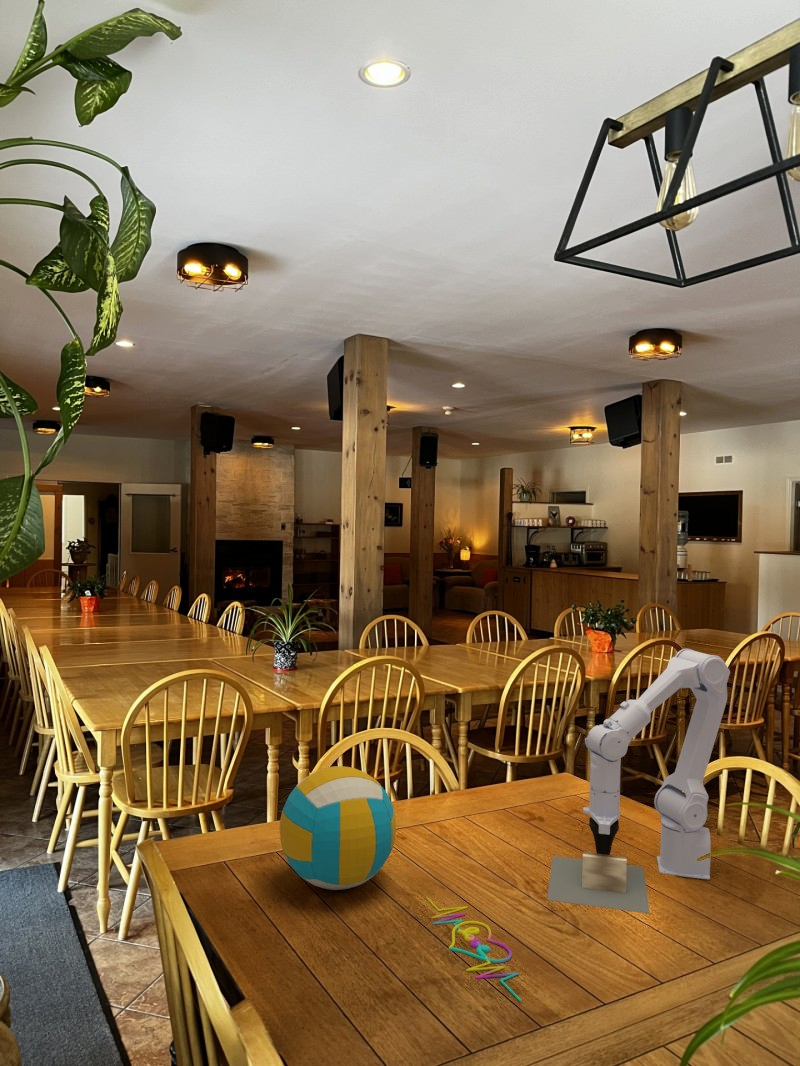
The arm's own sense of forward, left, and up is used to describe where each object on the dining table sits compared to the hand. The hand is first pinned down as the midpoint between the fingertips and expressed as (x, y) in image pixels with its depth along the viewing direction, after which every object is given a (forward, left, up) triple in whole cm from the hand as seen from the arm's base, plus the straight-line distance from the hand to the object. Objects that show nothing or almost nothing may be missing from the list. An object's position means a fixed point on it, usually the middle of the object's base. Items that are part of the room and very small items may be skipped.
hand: (603, 857), depth 157 cm
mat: (+1, +3, -4) cm, 5 cm away
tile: (0, +5, -4) cm, 6 cm away
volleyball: (+49, +17, -4) cm, 52 cm away
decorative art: (+21, +31, -4) cm, 38 cm away
